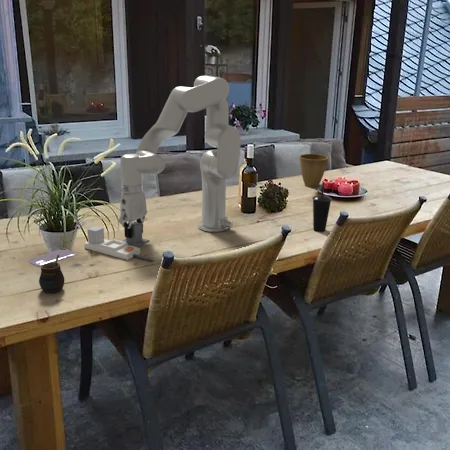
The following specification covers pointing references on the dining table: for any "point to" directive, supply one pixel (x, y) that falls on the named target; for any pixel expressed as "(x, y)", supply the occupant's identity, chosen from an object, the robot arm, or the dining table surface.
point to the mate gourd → (51, 277)
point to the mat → (137, 243)
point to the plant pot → (312, 168)
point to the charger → (135, 233)
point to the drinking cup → (320, 211)
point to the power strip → (111, 245)
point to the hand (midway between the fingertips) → (134, 234)
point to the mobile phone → (51, 257)
